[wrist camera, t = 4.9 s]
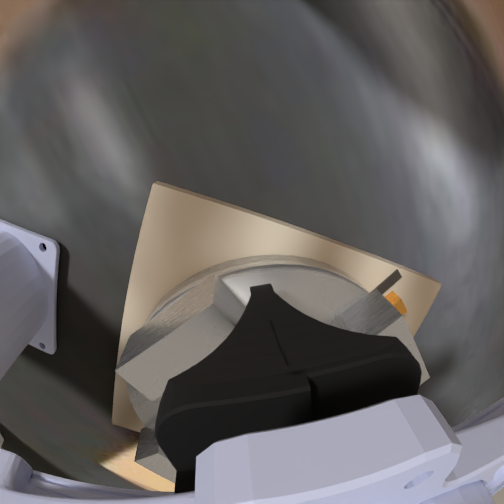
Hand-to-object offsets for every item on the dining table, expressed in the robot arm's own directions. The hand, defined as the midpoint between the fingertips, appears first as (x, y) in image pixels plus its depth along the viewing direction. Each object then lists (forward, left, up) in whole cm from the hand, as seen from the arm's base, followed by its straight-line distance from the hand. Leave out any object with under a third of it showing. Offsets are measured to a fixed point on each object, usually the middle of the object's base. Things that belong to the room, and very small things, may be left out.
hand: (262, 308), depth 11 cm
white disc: (+3, -6, -3) cm, 7 cm away
